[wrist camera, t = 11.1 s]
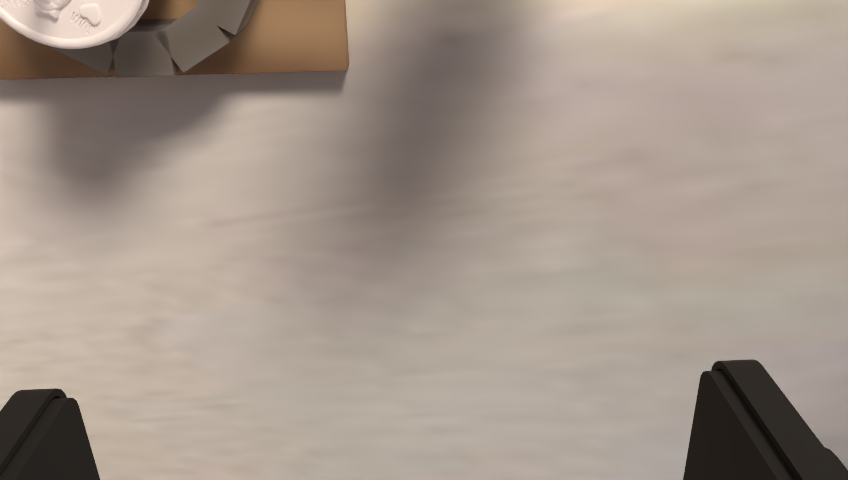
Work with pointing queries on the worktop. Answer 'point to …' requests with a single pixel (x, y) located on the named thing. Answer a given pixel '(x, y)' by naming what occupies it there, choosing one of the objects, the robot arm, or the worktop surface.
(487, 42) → the worktop surface
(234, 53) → the block
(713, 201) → the worktop surface
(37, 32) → the smoothie
